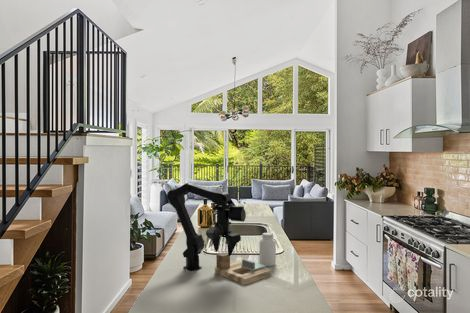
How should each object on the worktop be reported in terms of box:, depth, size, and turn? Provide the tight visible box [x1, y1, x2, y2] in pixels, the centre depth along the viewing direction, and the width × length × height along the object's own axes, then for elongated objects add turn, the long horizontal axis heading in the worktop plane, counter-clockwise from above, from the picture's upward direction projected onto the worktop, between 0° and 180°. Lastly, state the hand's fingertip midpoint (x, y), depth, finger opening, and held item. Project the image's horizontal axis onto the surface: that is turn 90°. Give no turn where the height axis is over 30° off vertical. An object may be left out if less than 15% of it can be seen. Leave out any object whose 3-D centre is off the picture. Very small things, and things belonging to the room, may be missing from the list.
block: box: [215, 252, 231, 269], centre depth 167 cm, size 4×4×6 cm
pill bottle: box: [259, 232, 277, 267], centre depth 179 cm, size 8×8×15 cm
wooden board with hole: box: [214, 259, 272, 286], centre depth 165 cm, size 20×16×2 cm
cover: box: [241, 258, 267, 271], centre depth 167 cm, size 8×8×3 cm
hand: (222, 253), depth 167 cm, fingers open, 9 cm apart
